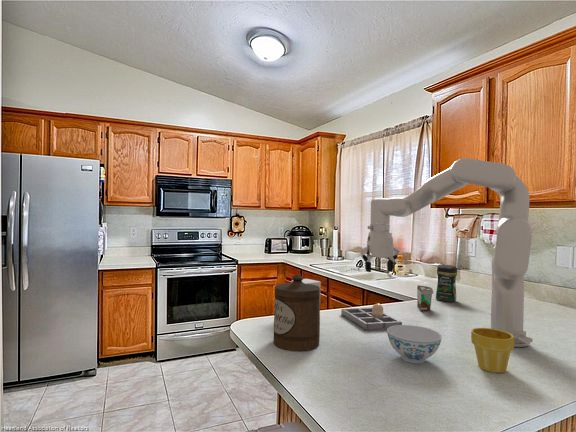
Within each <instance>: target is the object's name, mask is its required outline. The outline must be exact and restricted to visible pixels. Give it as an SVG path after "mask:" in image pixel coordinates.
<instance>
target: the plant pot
mask: <svg viewBox="0 0 576 432" xmlns="http://www.w3.org/2000/svg"><path fill="white" fill-rule="evenodd" d="M470 333H471V335H470V337H471V338H470V339H471V343H472V344H473V345H474V351H475V355H476V359H477V360H476V361H477V364H478V367H479V368H480V369H481V370H483V371H486V372H490V373H494V374H502V373H505V372H506V371H507V369H508V364H509V361H510V356H511V353H512V351H513V350H514V348H515V347H514V336H513V335H512V334H510V333H508V332H505V331H502V330H497V329H491V327H490V328H489V327H475V328H473V329H471V332H470Z"/></svg>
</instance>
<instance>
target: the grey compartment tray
mask: <svg viewBox="0 0 576 432" xmlns="http://www.w3.org/2000/svg"><path fill="white" fill-rule="evenodd" d="M340 312H341V314H340V315H341V316H343V317H344V318H345V319H346V320H348V321H350V322H351V323H353V324H354V325H356V326H357V327H360V329H362V330H363V331H365V332H368V331H384V330H386V331H387V329H388V328H389V327H391V326H395V325H403V322H402V321H401V320H399V319H397V318H395V317H394V316H391V315H390V314H387V313H385V312H383V317H374V316H372V307H360V308H359V307H354V308H351V307H350V308H341V311H340Z"/></svg>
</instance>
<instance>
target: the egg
mask: <svg viewBox="0 0 576 432" xmlns="http://www.w3.org/2000/svg"><path fill="white" fill-rule="evenodd" d="M371 308H372V316H374V317H383V313H384V306H383V305H382V304H380V303H375V304H373V305H372V307H371Z"/></svg>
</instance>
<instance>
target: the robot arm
mask: <svg viewBox="0 0 576 432" xmlns="http://www.w3.org/2000/svg"><path fill="white" fill-rule="evenodd" d="M468 185H473V186H474V185H476V186H480V187H485V188H489V189H490V190H491V191H494V192H495V193H497V194H498V196H499V199H500V200H499V201H500V203H499V204H500V205H499V215H498V221H497V226H496V229H495V230H496V231H495V233H496V237H495V238H496V239H495V240H496V241H495V246H494V247H495V248H494V255H493V256H492V259H491V303H490V304H491V306H490V307H491V310H490V312H491V313H490V328H491V329H497V330H502V331H505V332H508V333H510V334H512V335H513V336H514V348H523V347H524V348H525V347H528V346H529V345H531V343H532V342H533V340H534V339H533V338H531V337H529V336H527V331H524V321H525V320H524V319H525V318H524V315H525V314H524V313H525V312H524V311H525V309H524V308H525V275H526V273H527V271H528V269H529V263H530V255H531V247H532V239H533V230H532V227H531V225H530V224H529V217H530V216H529V215H530V192H529V189H528V187H527V185H526V184H525V182H524V181H523V180H522V179H521V178H520V177H519V176H517V174H516V171H515V169H514V168H513V167H512V166H510V165H508V164H506V163H501V162H496V161H495V162H494V161H489V160H488V161H487V160H481V159H476V158H475V159H474V158H470V157H469V158H468V157H462V158H459V159H457V160H456V161H454V162H453V163H452V165H451V166H450V167H449V168H447V169H445V170H443V171H441V172H440V173H437V174H436V175H434V176H432V177H430V178H428V179H427V180H426V181H424V183H423V184H422V185H421V186H420V187H419V188H418V189H417V190H415V191H413V192H411V193H410V194H408V195H406V196H404V197H400V196H399V197H390V198H386V197H385V198H383V197H381V198H372V199H371V201H370V224H369V225H368V226H367V230H369V232H368V235H367V241H366V246H365V247H363V248H362V249H360V250H359V252H358V253H359V254H360V256H361V257H360V258H362V259H363V261H364V262H365V263H364V269H365V272H368V273H371V272H372V262H371V260H373V258H386V259H387V260H388V261H387V263H386V266H387V267H386V271H388V272H392V273H393V270H394V262H395V261H396V259H398V255H399V253H400V250H398V249H397V248H395V247H394V239H393V238H394V237H393V235H392V232H390V230H391V229H390V228H391V227H390V225H391V224H390V223H391V219H390V217H391V216H392V217H398V218H406V217H408V216H410V215H412V214H414V213H416V212H418V211H420V210H421V209H424V208H425V207H428V206H430V205H431V204H433V203H435V202H437V201H439V200H441V199H442V198H444V197H446V196H449V195H450V194H453V192H455V191H456V192H457V191H458V190H460V189H462V188H464V187H466V186H468ZM365 252H366V255H365Z"/></svg>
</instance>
